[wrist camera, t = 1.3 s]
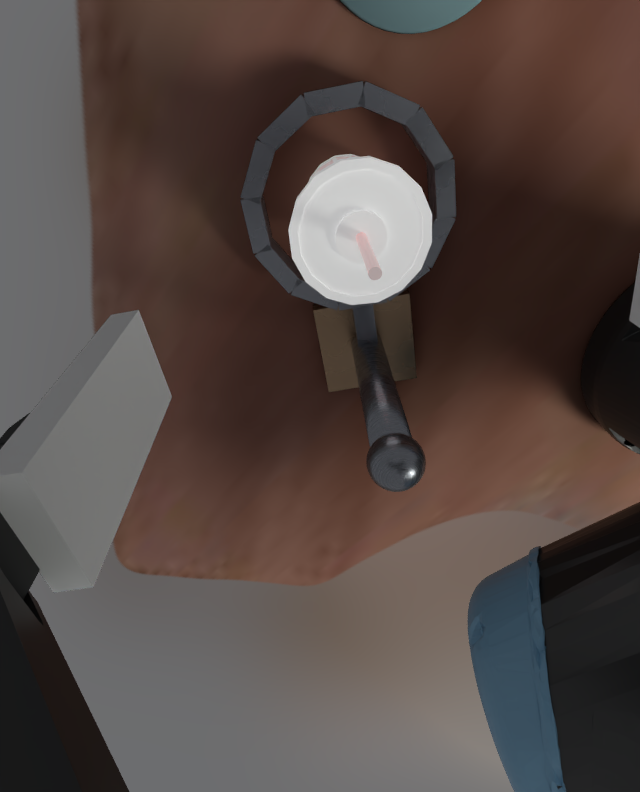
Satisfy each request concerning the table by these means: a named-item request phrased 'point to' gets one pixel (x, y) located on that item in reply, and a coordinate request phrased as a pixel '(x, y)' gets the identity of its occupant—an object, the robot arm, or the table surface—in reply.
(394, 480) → the ring stand
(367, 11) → the coaster
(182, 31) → the table surface
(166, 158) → the table surface
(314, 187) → the beverage cup
